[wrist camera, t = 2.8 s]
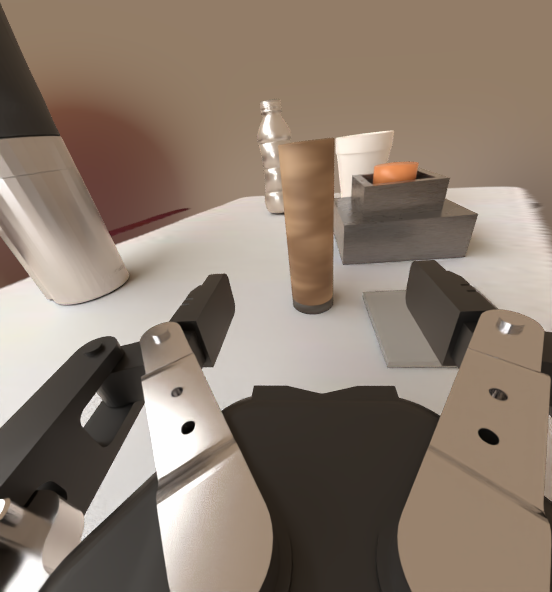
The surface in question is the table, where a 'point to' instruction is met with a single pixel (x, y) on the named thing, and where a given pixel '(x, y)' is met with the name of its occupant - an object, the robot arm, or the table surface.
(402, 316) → the mat
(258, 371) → the table surface
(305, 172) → the stick
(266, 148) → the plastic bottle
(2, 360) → the table surface
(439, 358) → the robot arm
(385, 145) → the foam cup
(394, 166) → the breaker button
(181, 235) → the table surface
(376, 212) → the grey button housing
